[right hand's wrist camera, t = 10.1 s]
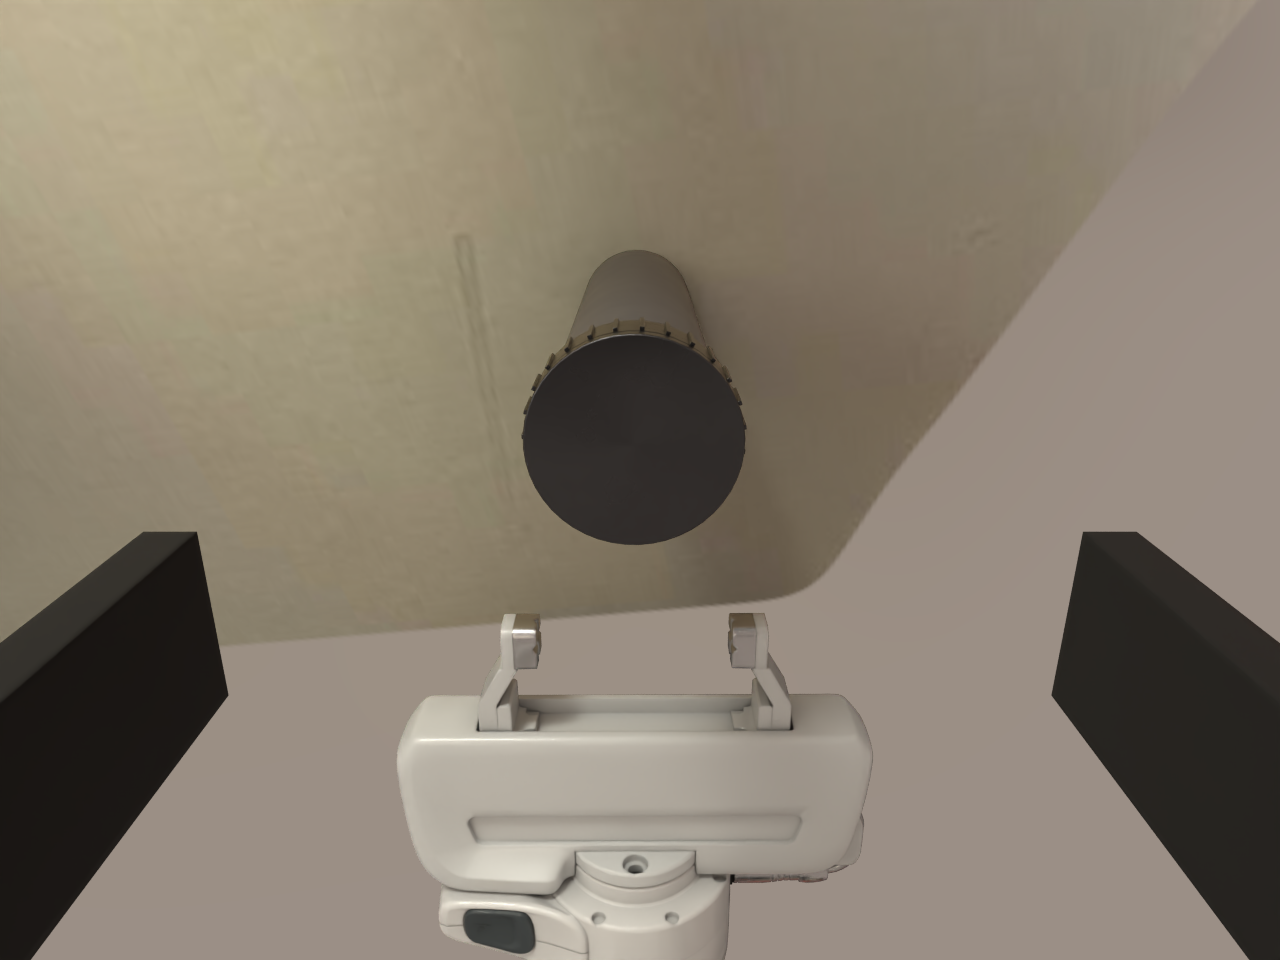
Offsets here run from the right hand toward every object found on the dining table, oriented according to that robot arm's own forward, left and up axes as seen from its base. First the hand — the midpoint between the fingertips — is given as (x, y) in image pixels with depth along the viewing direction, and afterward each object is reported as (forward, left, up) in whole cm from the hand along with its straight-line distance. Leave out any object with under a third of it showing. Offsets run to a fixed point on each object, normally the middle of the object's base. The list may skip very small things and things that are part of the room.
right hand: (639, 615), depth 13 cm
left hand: (+5, -11, -21) cm, 24 cm away
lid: (0, 0, -8) cm, 8 cm away
